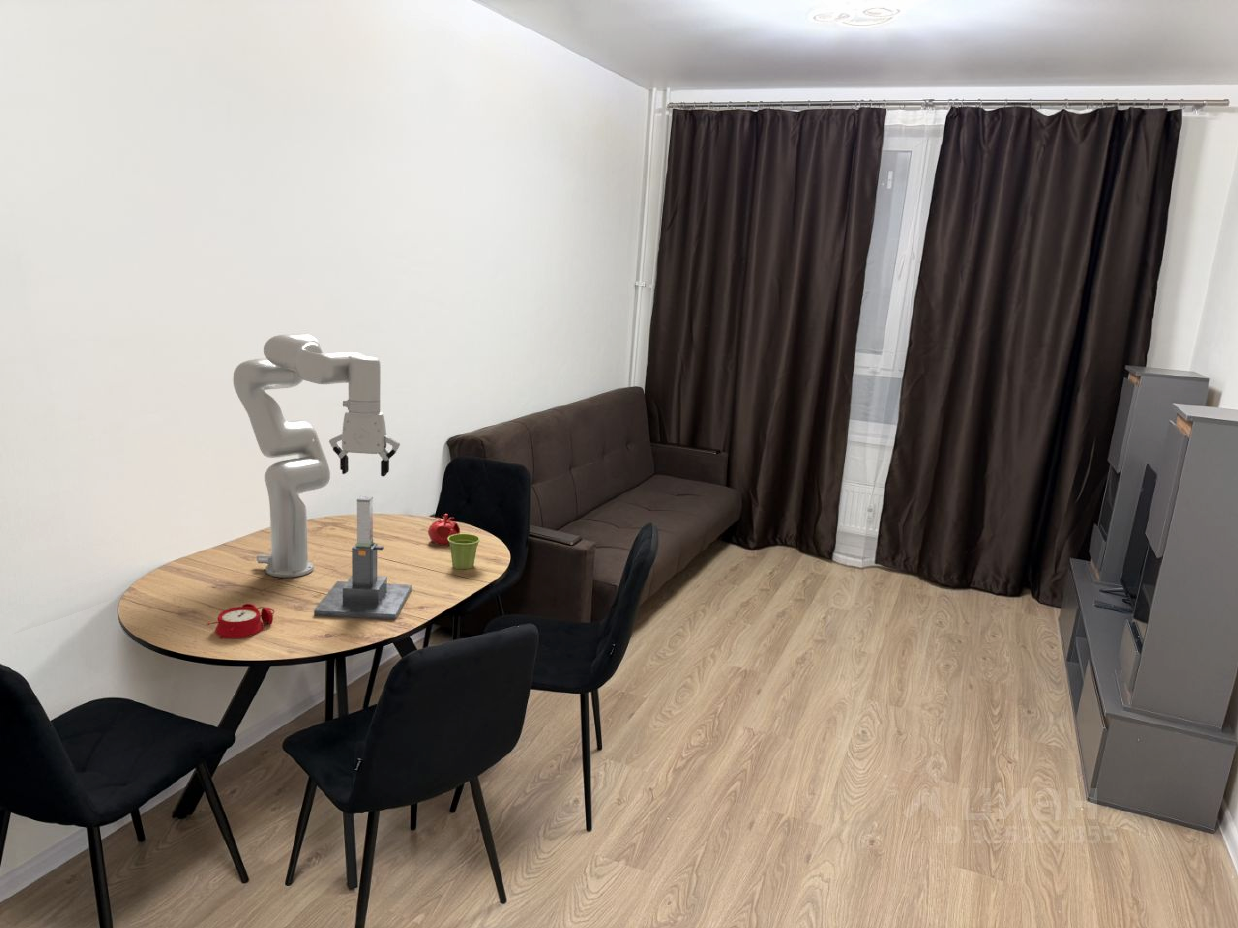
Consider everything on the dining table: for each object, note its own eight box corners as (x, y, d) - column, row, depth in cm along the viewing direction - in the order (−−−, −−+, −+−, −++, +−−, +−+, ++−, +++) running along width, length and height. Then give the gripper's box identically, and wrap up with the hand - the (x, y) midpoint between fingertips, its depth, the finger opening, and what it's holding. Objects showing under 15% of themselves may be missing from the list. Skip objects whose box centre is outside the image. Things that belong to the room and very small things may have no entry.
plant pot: (485, 565, 256) (486, 537, 254) (467, 574, 247) (467, 545, 245) (459, 558, 259) (459, 531, 257) (440, 567, 251) (440, 539, 249)
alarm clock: (200, 620, 198) (249, 587, 211) (206, 642, 201) (254, 608, 213) (234, 630, 195) (282, 595, 207) (240, 652, 197) (287, 617, 210)
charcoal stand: (314, 615, 213) (313, 556, 209) (337, 586, 232) (336, 531, 229) (395, 619, 214) (395, 560, 210) (411, 589, 233) (412, 535, 230)
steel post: (356, 561, 219) (356, 499, 215) (360, 557, 222) (359, 495, 218) (370, 562, 219) (369, 500, 215) (373, 558, 222) (373, 496, 218)
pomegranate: (422, 541, 274) (422, 513, 271) (450, 535, 280) (449, 508, 278) (438, 549, 266) (438, 520, 264) (466, 543, 273) (466, 515, 271)
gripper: (324, 407, 208) (325, 475, 212) (396, 411, 209) (395, 479, 213) (333, 402, 215) (334, 468, 219) (403, 406, 216) (402, 472, 220)
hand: (364, 473), depth 216 cm, fingers open, 9 cm apart
